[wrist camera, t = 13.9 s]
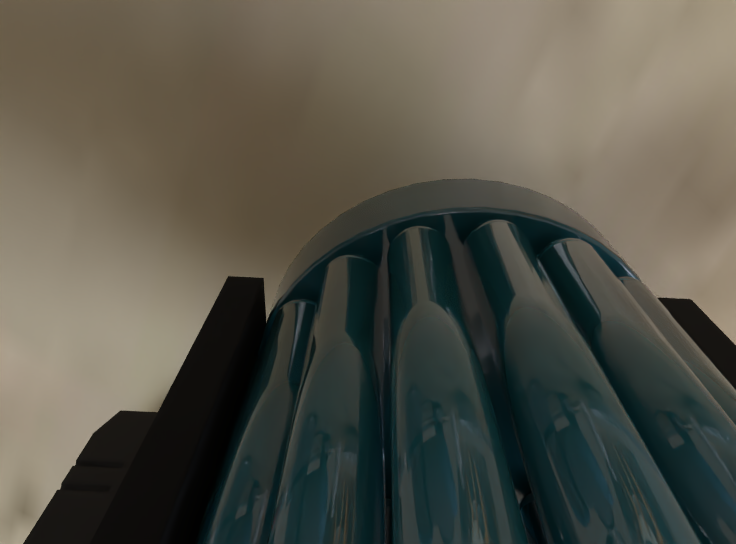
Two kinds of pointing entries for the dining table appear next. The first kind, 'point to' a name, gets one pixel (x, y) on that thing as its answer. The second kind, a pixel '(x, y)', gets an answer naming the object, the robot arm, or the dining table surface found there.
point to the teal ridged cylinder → (474, 389)
